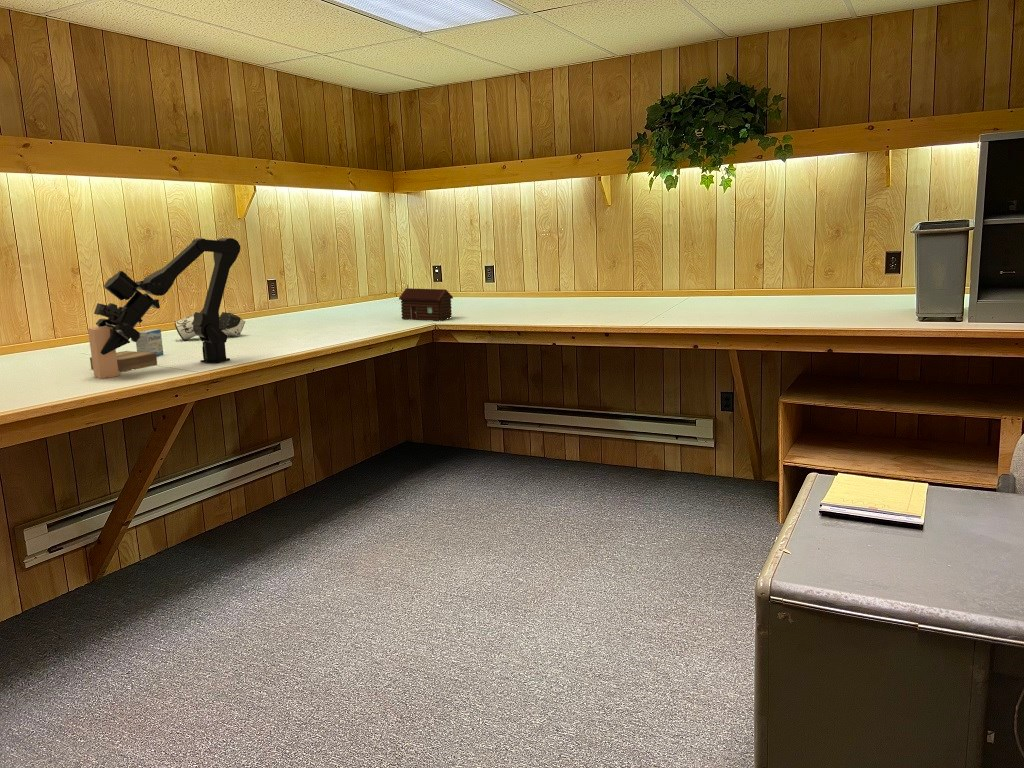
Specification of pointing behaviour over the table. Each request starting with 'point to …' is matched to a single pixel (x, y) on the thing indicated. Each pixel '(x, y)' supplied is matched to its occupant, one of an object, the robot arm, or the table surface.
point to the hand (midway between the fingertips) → (98, 352)
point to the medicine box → (150, 342)
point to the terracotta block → (102, 363)
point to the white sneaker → (228, 325)
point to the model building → (426, 304)
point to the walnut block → (133, 360)
